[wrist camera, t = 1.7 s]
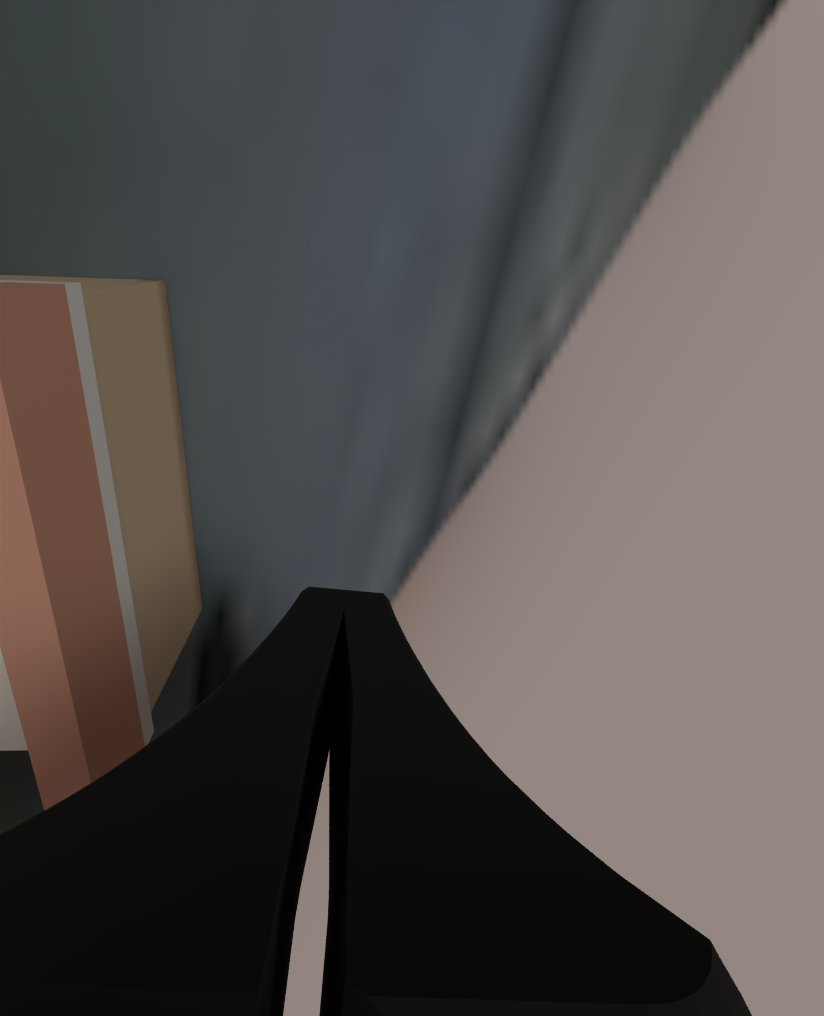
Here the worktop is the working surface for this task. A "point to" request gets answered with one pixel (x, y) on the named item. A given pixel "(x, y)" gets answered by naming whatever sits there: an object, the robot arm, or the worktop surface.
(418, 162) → the worktop surface
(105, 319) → the box
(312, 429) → the worktop surface
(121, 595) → the mailer lid
